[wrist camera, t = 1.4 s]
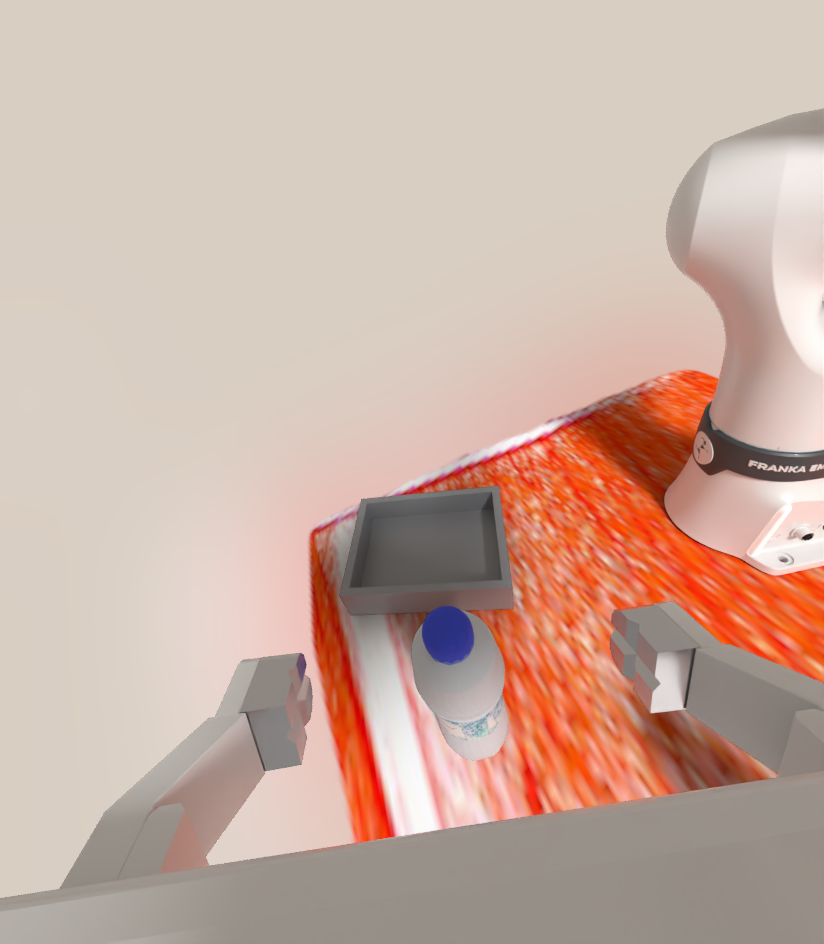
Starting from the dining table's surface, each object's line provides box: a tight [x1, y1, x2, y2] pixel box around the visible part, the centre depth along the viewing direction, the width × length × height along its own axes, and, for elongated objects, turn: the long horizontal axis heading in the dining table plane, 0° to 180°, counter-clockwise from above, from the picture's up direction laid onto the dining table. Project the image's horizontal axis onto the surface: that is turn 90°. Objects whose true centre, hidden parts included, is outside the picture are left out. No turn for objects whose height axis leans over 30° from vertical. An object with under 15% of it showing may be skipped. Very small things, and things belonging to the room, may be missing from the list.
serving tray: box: [340, 486, 514, 615], centre depth 52 cm, size 20×16×4 cm
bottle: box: [411, 606, 509, 761], centre depth 32 cm, size 7×7×20 cm
